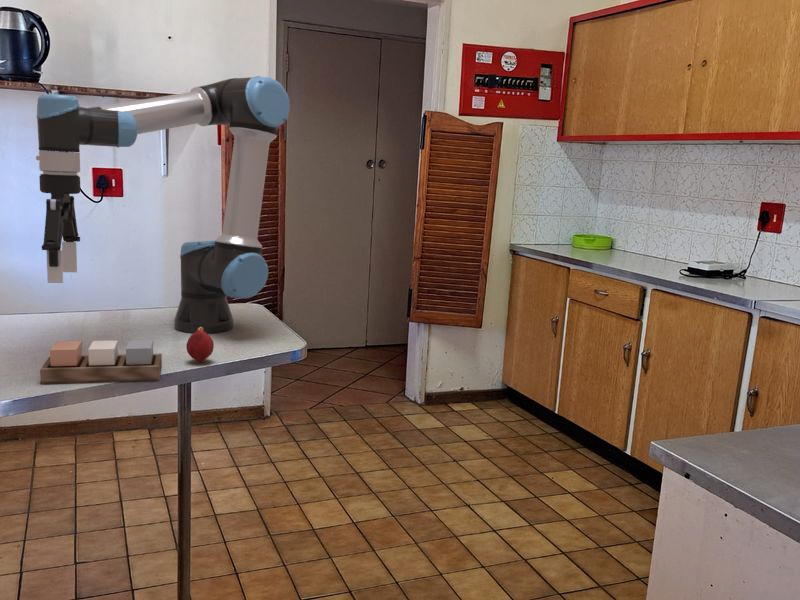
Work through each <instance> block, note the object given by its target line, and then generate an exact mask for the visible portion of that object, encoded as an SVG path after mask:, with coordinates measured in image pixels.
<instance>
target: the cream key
mask: <svg viewBox="0 0 800 600" xmlns="http://www.w3.org/2000/svg"><path fill="white" fill-rule="evenodd" d="M87 351H88V352H87V353H88V354H87V355H89V365H115V362H116V360H117V357H118V354H119V343H118V340H92V342H91V344H90V345H89V347H88V349H87Z"/></svg>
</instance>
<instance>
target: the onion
mask: <svg viewBox="0 0 800 600" xmlns="http://www.w3.org/2000/svg"><path fill="white" fill-rule="evenodd" d="M203 330H204V328H202V327H199V328H198V330H197V331H196V332H195V333H191V335H190V336H189V338H188V339H187V341H186V347H185V348H186V352H187V354H188V355H189V356H190V357H191V358H192V359H193V360H194V361H196V362H197V363H203V362H204V361H205V360H206V359H207V358H208V359H209V357H210V356H211V355H212V353H213V351H214V347H215V345H214V340H213V339H212V336H211V335H210V334H209V333H206V332H204V331H203Z"/></svg>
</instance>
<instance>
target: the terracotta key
mask: <svg viewBox="0 0 800 600" xmlns="http://www.w3.org/2000/svg"><path fill="white" fill-rule="evenodd" d="M82 355H83V344H82V340H68V341H67V340H64V341H63V340H60V341H57V340H56V341H55V342H54V344H53V345H52V346H51V348H50V349H49V357H50V364H51V366H77V365H78V363H79V361H80V359H81V358H82Z"/></svg>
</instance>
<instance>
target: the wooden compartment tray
mask: <svg viewBox="0 0 800 600" xmlns="http://www.w3.org/2000/svg"><path fill="white" fill-rule="evenodd" d="M162 359H163V358H162V353H153V358H152V363H151V364H133V365H126V353H124V354H122V353H121V354H119V353H118V357H117V360H116V362H115V365H89V355H88V354H82V358H81V359H80V361H79V363H78V365H77V366H51V364H50V356H49V357H47V359H46V361H44V364H42V366H41V368H40V369H39V375H40V376H39V377H40V385H60V384H61V385H62V384H63V385H65V384H66V385H67V384H95V383H96V384H99V383H134V382H135V383H136V382H159V381H160V380H161V373H162V368H163V367H162V366H163V364H162V363H163V361H162Z"/></svg>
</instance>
